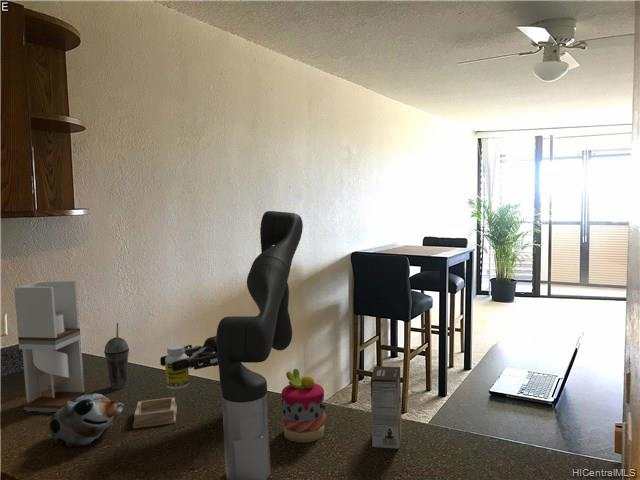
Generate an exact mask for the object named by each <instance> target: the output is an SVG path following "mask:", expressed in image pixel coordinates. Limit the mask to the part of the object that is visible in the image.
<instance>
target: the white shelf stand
mask: <svg viewBox="0 0 640 480" xmlns="http://www.w3.org/2000/svg"><path fill="white" fill-rule="evenodd" d="M13 291H14V304H15V314H16V315H15V318H16V326H17V327H16V328H17V337H18V340H17V341H18V349H19V350H22V359H23V362H22V363H23V373H24V374H23V375H24V385H25V395H26V396H25V397H26V399H25V400H26V402H25V403H24V404H23V411H24V410H27V411H26V412H30V411H39V412H38V413H50V412H58V411H59V410H62V409H63V408H64V407H65V404H66V403H67V402H68V401H70V402H73V400H74V399H76V398H78V397H80V396H82V395H86V394H85V382H84V381H85V379H84V367H83V353H82V341H81V340H82V339H81V324H80V312H79V299H78V295H79V294H78V284H77V280H41V281H36V282H32V283H28V284H23V285H19V286H15V287H13Z"/></svg>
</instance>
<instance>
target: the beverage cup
mask: <svg viewBox="0 0 640 480" xmlns="http://www.w3.org/2000/svg"><path fill="white" fill-rule="evenodd" d="M115 335H116V337H112V338H110V339H109V340H108V341H107V342H106V344H105V345H104V352H103V354H104V356H105V359H106V364H107V370H108V376H109V377H108V378H109V383H110V388H111V389H112V390H115V389H117V390H122V389H125V388H127V386H128V371H129V370H128V367H129V365H128V364H129V362H128V360H129V359H128V357H129V353H130V348H129V345H128V343H127V341H126V340H125V339H124V338H123V337H119V322H116V334H115Z"/></svg>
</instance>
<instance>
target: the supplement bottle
mask: <svg viewBox="0 0 640 480" xmlns="http://www.w3.org/2000/svg"><path fill="white" fill-rule="evenodd" d="M184 346H185V345H183V344H174V345H173V344H172V345H170V346H168V347H166V348H167V349H166V351H167V352H166V354H167V355H168V356H167V355H166V356H167V357H166V358H165V366H164V367H165V378H166V379H165V381H166V387H167V388H168V389H170V390H178V389H184V388H186V387H188V385H190V375H189V374H190V373H189V368H188V367H187V368H185V369H182V370H179V371H172V362H175V361H178V360H182V359H187V358H188V356H187V355H186V354H184Z"/></svg>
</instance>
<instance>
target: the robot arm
mask: <svg viewBox="0 0 640 480" xmlns="http://www.w3.org/2000/svg"><path fill="white" fill-rule="evenodd" d="M303 223H304V222H303V219H302V217H301V216H300V215H299V214H298V213H295V212H290V211H289V212H286V211H275V210H267V211H265V212H264V213H263V215H262V217H261V221H260V227H259V229H260V230H259V231H260V232H259V233H260V234H259V235H260V236H259V237H260V249H261V253H260V254H258V255H257V256H256V258H255V259H254V260H253V262H252V264H251V267H250V269H249V272H248V274H247V278H246V287H247V291H248V293H249V294H250V296H251V298H252V300H253V302H254V303H255V304H256V306H257V309H258V310H259V313H258V314H257V315H256V316H255V315H254V316H252V315H251V316H250V315H249V316H246V315H245V316H233V315H232V316H230V315H229V316H224V317H223V318H221V320H220V321H219V322H218V325H217V328H216V334H215V336H214V335H213V336H211V337H210V336H209V337H207V339H206V340H205V341H204V343H203V345H195V346H193V345H192V344H188V345H183V346H184V354H186V355H187V359H182V360H178V361H175V362H172V371H179V370H182V369H185V368H187V367H188V370H189V369H194V370H195V371H196V370H200V369H204V368H209V367H218V372H219V374H218V375H219V383H220V389H221V402H222V405H221V406H222V424H223V443H224V461H225V462H224V463H225V477H226V480H267V479H268V478H269V477H270V475H271V472H272V471H271V451H270V450H271V449H270V431H269V429H270V428H269V427H270V426H269V405H268V404H269V403H268V402H269V401H268V382H267V379H266V377H264V376H263V375H262V374H260V373H258V372H255V371H253V370H251V369H249V368H248V367H246V366H245V365H244V364H245V363H251V364H254V363H256V364H257V363H262V362H265V361H266V360H267V359H268V358H269V356H270V354H271V351H272V349H273V350H275V351H278V352H279V351H284V350H286V349H287V348H288V347H289V346H290V344H291V342H292V339H293V328H292V323H291V315H290V313H289V304H290V302H289V301H290V300H289V299H290V297H289V296H290V286H289V283H288V281H289V276H290V273H291V268H292V267H291V266H292V263H293V259H294V257H295V253H296V251H297V249H298V247H299V244H300V241H301V238H302V235H303V229H304V224H303ZM168 355H169V354H167V355H163V356H161V357H160V359H159V362H160V366H162V367H165V358H166V357H167V356H168ZM243 363H244V364H243Z"/></svg>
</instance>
